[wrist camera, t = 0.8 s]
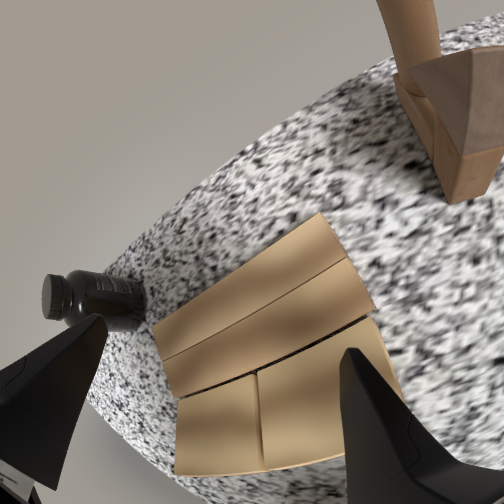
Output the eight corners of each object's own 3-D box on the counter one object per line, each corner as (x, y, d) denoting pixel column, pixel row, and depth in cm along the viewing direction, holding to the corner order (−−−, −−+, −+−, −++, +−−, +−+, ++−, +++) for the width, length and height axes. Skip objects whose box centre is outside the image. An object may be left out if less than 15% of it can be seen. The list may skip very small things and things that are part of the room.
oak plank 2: (413, 428, 11) (408, 427, 10) (278, 470, 14) (264, 469, 14) (376, 324, 17) (369, 316, 17) (269, 377, 21) (257, 371, 20)
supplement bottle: (117, 288, 35) (39, 274, 25) (145, 271, 32) (55, 252, 22) (123, 336, 33) (40, 332, 23) (152, 327, 30) (55, 321, 20)
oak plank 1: (272, 470, 15) (258, 470, 14) (187, 476, 18) (174, 474, 17) (264, 379, 21) (252, 373, 20) (189, 404, 24) (178, 400, 24)
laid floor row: (376, 308, 18) (374, 308, 16) (184, 396, 25) (174, 398, 24) (325, 218, 21) (319, 212, 20) (162, 327, 29) (151, 327, 27)
